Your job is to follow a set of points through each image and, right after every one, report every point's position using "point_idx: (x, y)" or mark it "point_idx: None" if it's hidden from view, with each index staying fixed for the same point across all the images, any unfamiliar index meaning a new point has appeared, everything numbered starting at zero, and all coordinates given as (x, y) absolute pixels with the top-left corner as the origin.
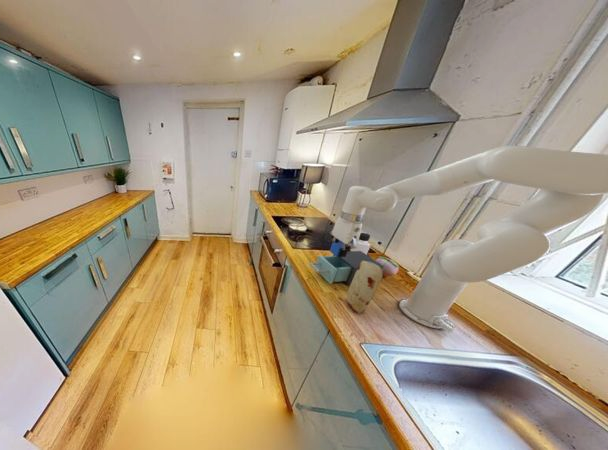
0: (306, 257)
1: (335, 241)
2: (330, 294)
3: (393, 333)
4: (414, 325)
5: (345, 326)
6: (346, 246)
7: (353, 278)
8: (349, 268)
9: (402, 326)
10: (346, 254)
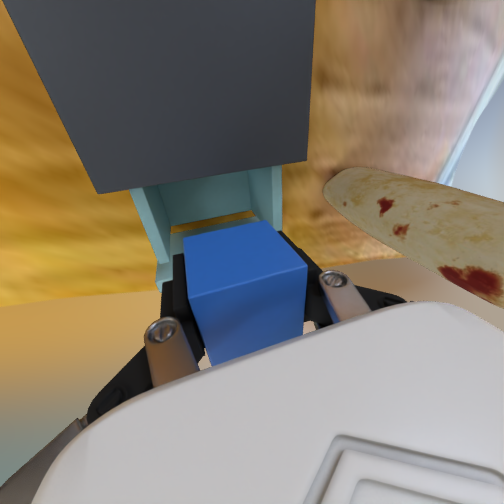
0: (38, 243)
1: (196, 360)
2: (297, 235)
3: (433, 140)
4: (459, 22)
5: (379, 243)
6: (283, 278)
7: (396, 250)
8: (281, 172)
9: (439, 83)
10: (105, 80)
